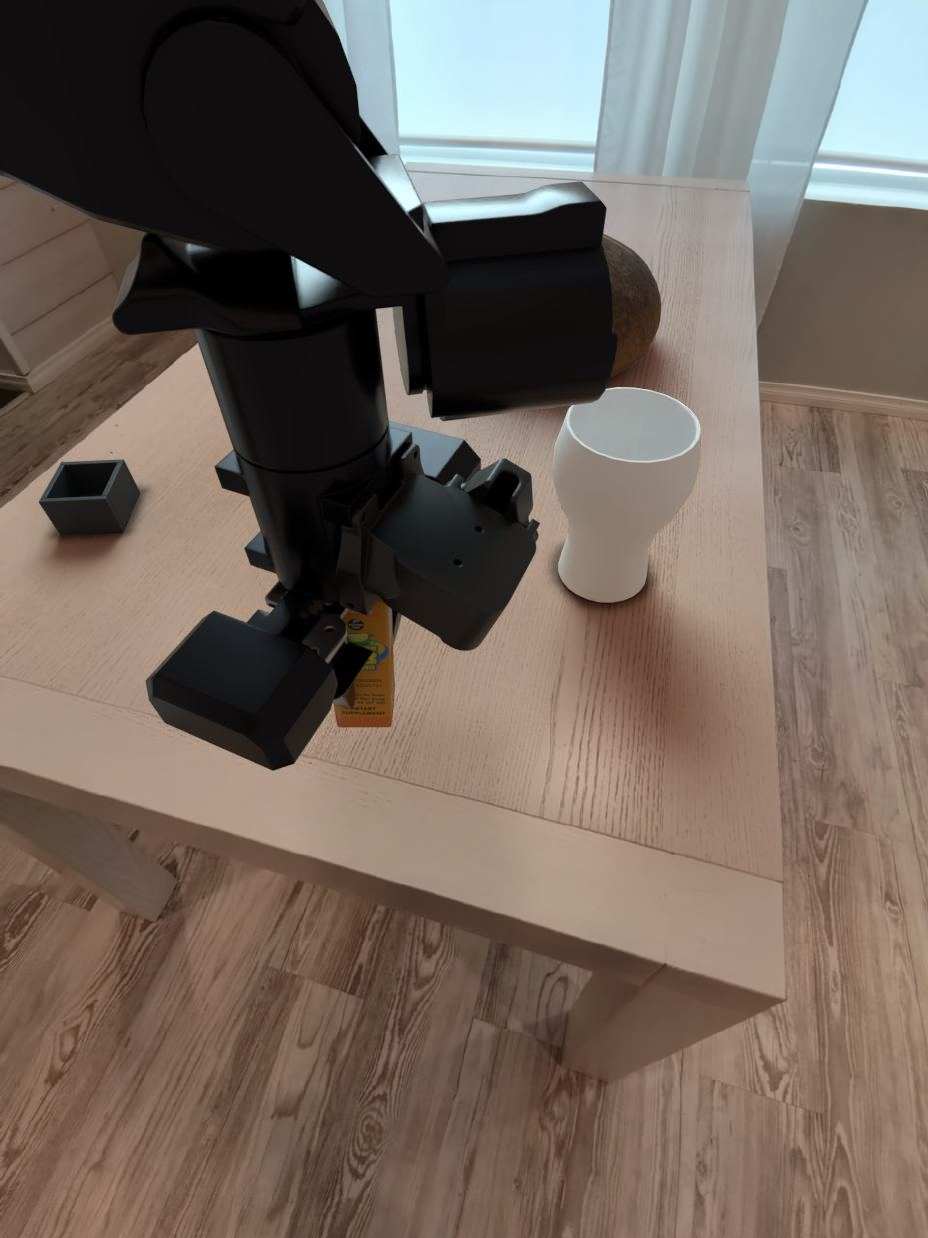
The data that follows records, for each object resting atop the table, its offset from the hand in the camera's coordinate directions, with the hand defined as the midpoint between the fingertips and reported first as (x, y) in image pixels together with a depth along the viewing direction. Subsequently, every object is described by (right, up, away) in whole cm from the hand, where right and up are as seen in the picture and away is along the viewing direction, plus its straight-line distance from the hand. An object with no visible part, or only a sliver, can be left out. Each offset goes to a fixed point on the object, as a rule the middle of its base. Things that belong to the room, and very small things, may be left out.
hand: (364, 674), depth 36 cm
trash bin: (-30, +13, +28) cm, 43 cm away
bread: (+16, +38, +49) cm, 64 cm away
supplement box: (0, -2, +2) cm, 3 cm away
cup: (+18, +7, +22) cm, 29 cm away
